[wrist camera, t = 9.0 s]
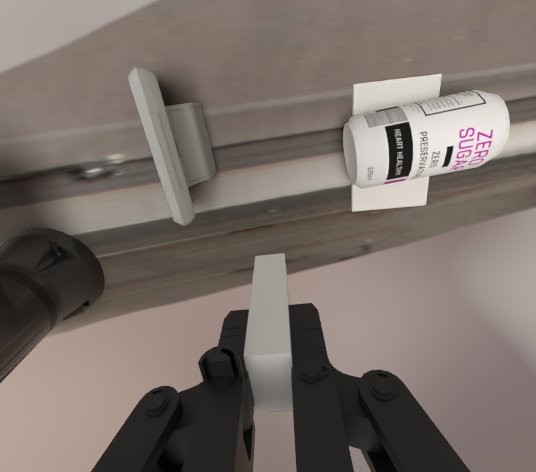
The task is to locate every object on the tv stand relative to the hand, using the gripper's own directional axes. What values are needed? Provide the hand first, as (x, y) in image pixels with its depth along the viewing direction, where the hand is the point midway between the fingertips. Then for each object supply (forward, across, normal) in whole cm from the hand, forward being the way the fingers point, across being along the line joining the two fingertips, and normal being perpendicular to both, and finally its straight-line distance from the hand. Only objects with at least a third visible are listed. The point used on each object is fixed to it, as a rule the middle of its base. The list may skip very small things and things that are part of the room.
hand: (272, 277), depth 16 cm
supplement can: (+22, +9, +2) cm, 24 cm away
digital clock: (+27, -12, +5) cm, 30 cm away
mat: (+27, +15, +1) cm, 31 cm away
